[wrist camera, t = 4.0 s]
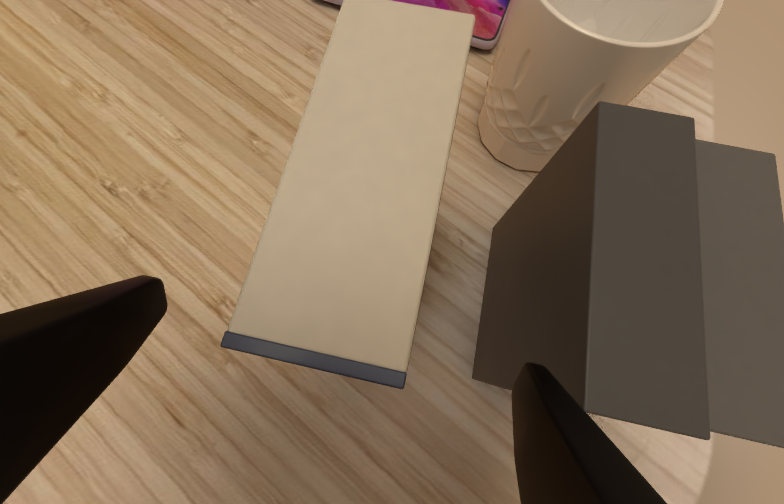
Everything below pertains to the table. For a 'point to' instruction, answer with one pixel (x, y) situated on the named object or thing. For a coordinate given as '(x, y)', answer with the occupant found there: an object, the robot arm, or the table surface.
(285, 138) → the table surface
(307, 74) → the table surface
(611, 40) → the white cup
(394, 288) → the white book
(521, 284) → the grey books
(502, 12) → the smartphone
